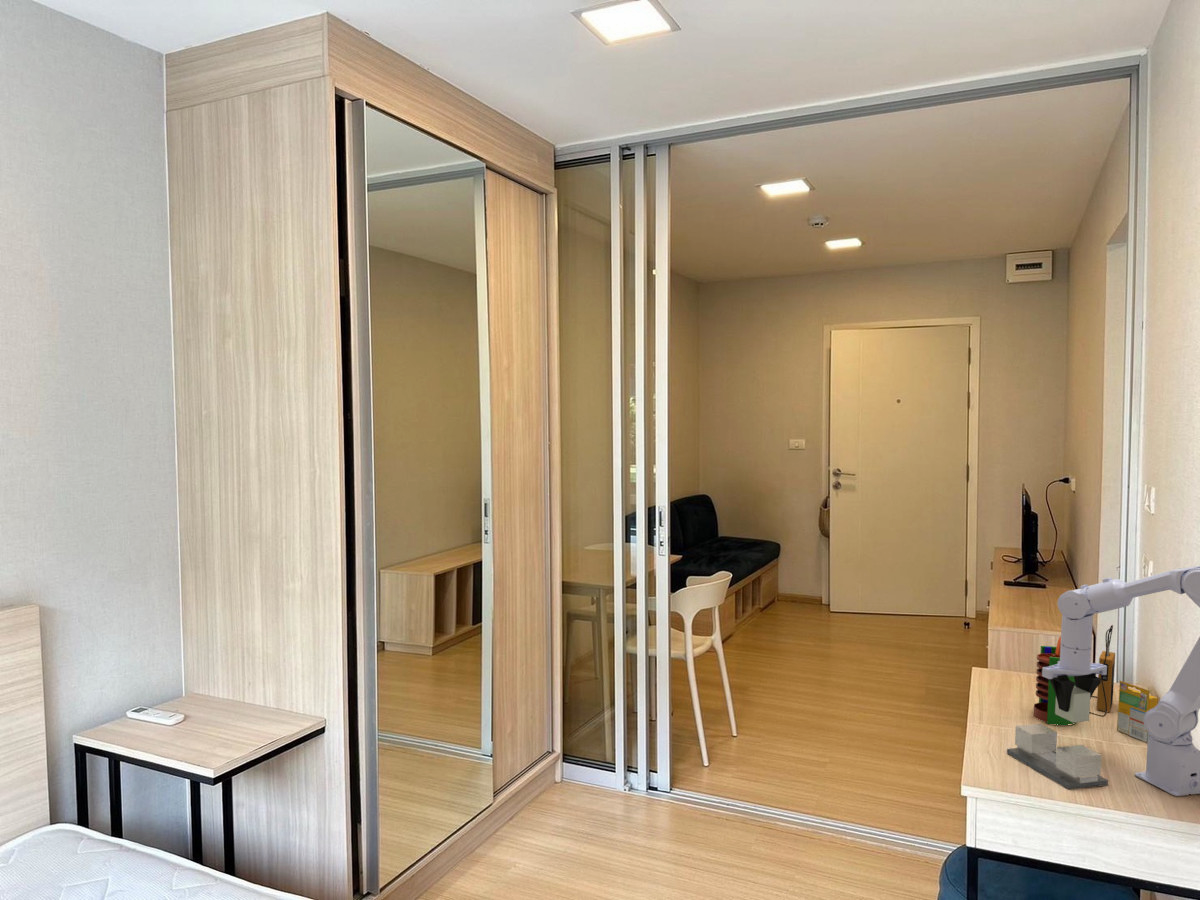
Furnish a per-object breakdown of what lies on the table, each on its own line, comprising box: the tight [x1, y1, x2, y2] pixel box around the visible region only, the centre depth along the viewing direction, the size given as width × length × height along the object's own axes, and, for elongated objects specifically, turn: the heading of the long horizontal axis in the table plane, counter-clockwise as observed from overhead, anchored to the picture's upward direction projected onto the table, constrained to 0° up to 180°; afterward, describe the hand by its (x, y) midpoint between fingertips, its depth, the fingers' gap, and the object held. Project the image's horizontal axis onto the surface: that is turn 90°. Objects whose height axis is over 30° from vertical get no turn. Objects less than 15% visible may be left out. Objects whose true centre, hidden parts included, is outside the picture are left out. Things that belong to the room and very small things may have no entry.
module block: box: [1055, 686, 1091, 723], centre depth 183 cm, size 5×4×6 cm
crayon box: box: [1116, 680, 1159, 743], centre depth 192 cm, size 7×3×12 cm, turn 20°
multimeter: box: [1089, 624, 1116, 717], centre depth 211 cm, size 15×10×20 cm
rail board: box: [1006, 723, 1109, 790], centre depth 174 cm, size 17×9×6 cm, turn 14°
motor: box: [1033, 635, 1077, 726], centre depth 202 cm, size 10×9×20 cm
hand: (1072, 709), depth 183 cm, fingers closed on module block, 4 cm apart
